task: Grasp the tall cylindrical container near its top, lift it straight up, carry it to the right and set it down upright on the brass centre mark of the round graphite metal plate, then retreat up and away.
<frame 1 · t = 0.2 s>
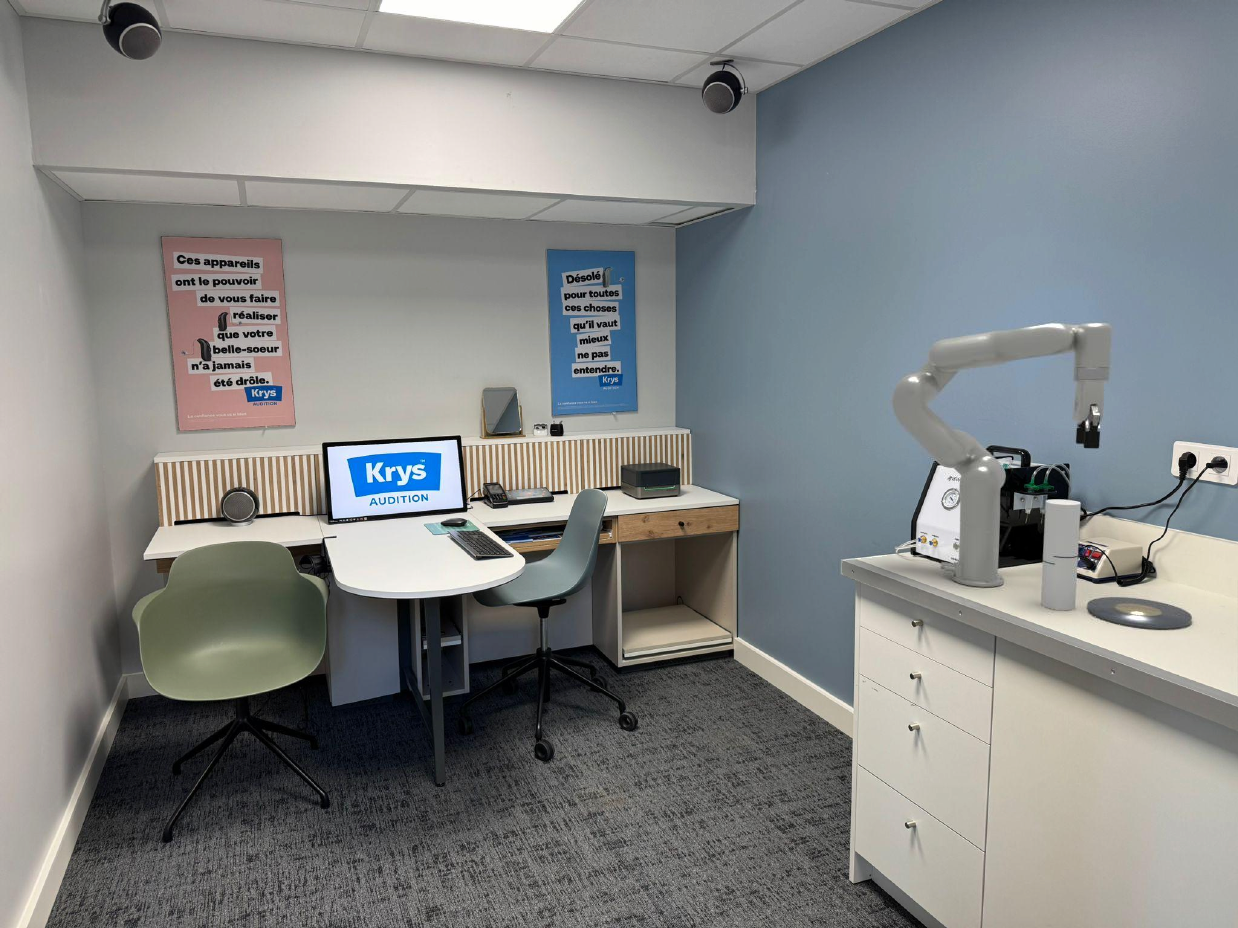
hand: (1087, 446, 198), 37 cm above the worktop, tool pointing down, fingers open, 9 cm apart
cylindrical container: (1057, 606, 193), on the worktop
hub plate: (1137, 614, 185), on the worktop
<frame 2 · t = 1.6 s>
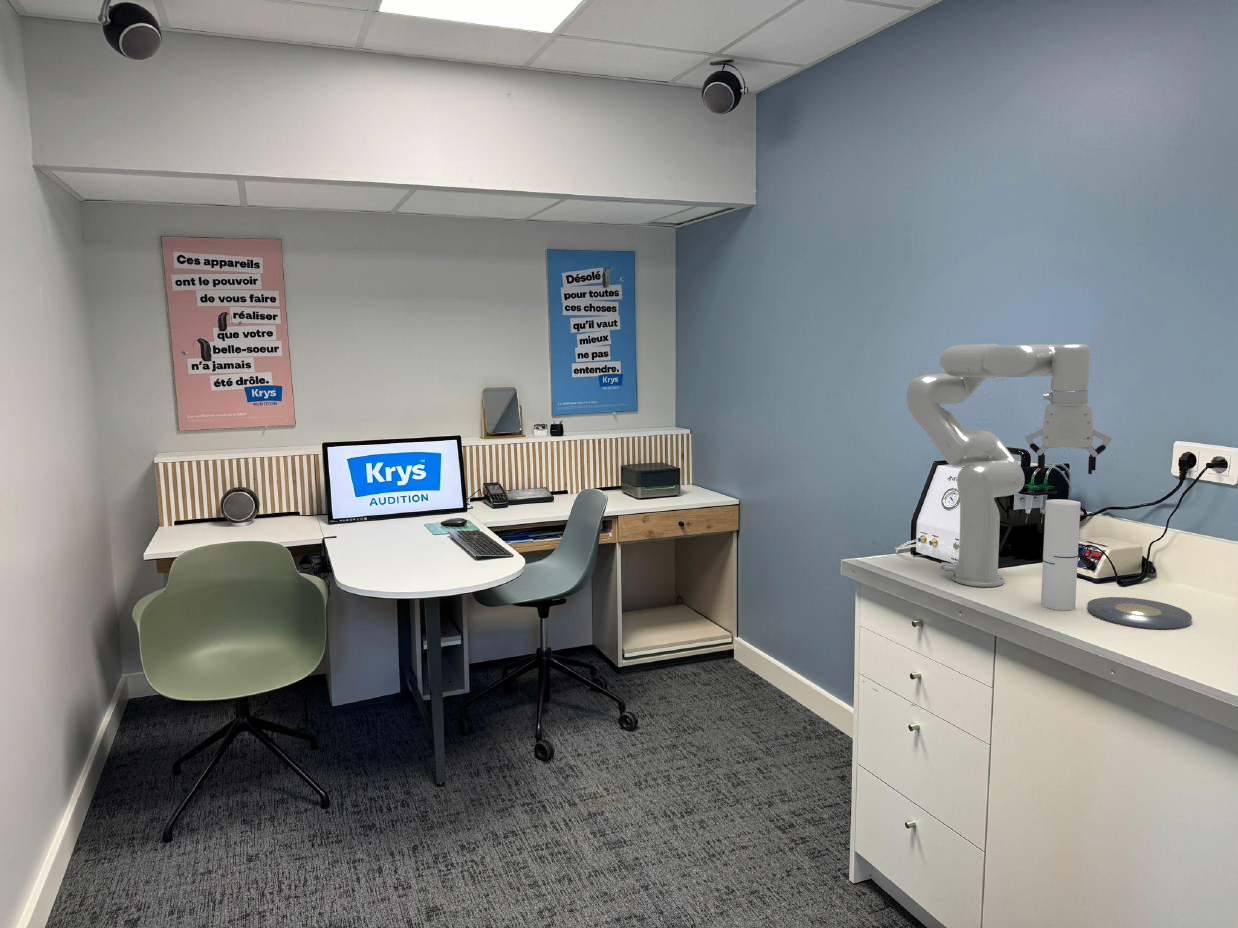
hand: (1065, 472, 188), 32 cm above the worktop, tool pointing down, fingers open, 9 cm apart
nothing on the worktop moved.
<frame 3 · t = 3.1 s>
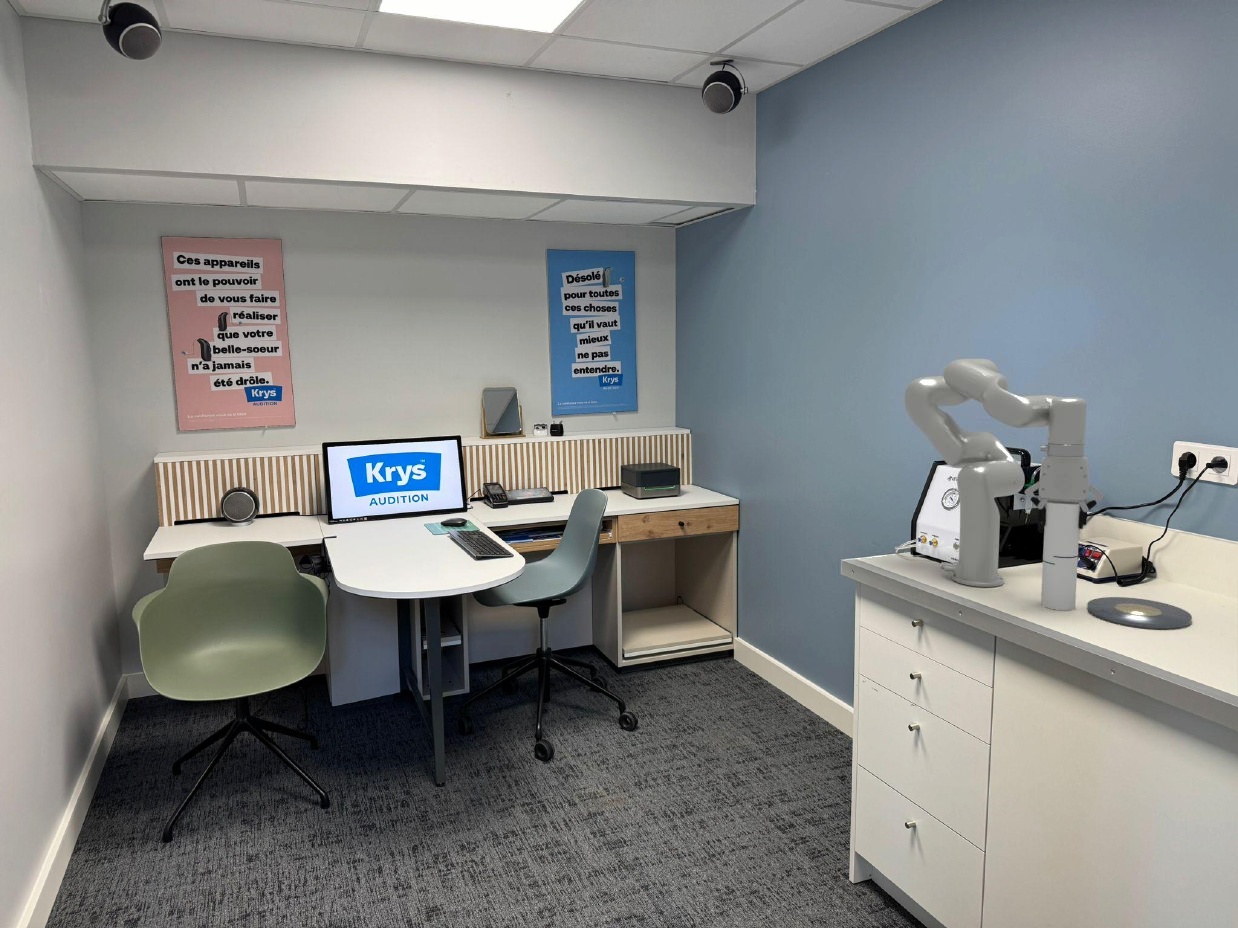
hand: (1061, 525, 190), 19 cm above the worktop, tool pointing down, fingers closed on cylindrical container, 7 cm apart
cylindrical container: (1057, 606, 193), on the worktop, touching gripper
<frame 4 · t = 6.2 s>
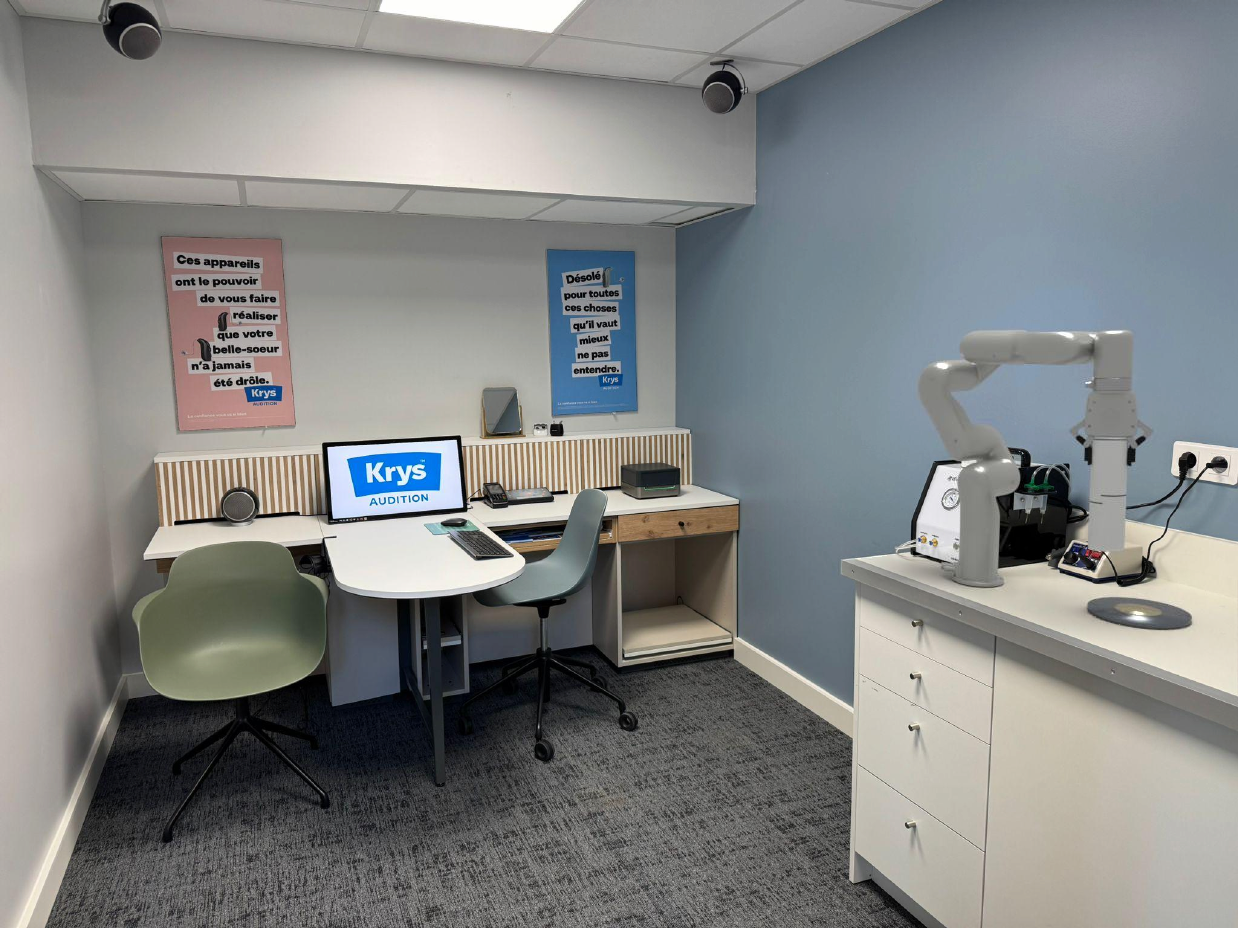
hand: (1109, 464, 184), 34 cm above the worktop, tool pointing down, fingers closed on cylindrical container, 7 cm apart
cylindrical container: (1105, 549, 186), point 15 cm above the worktop, touching gripper
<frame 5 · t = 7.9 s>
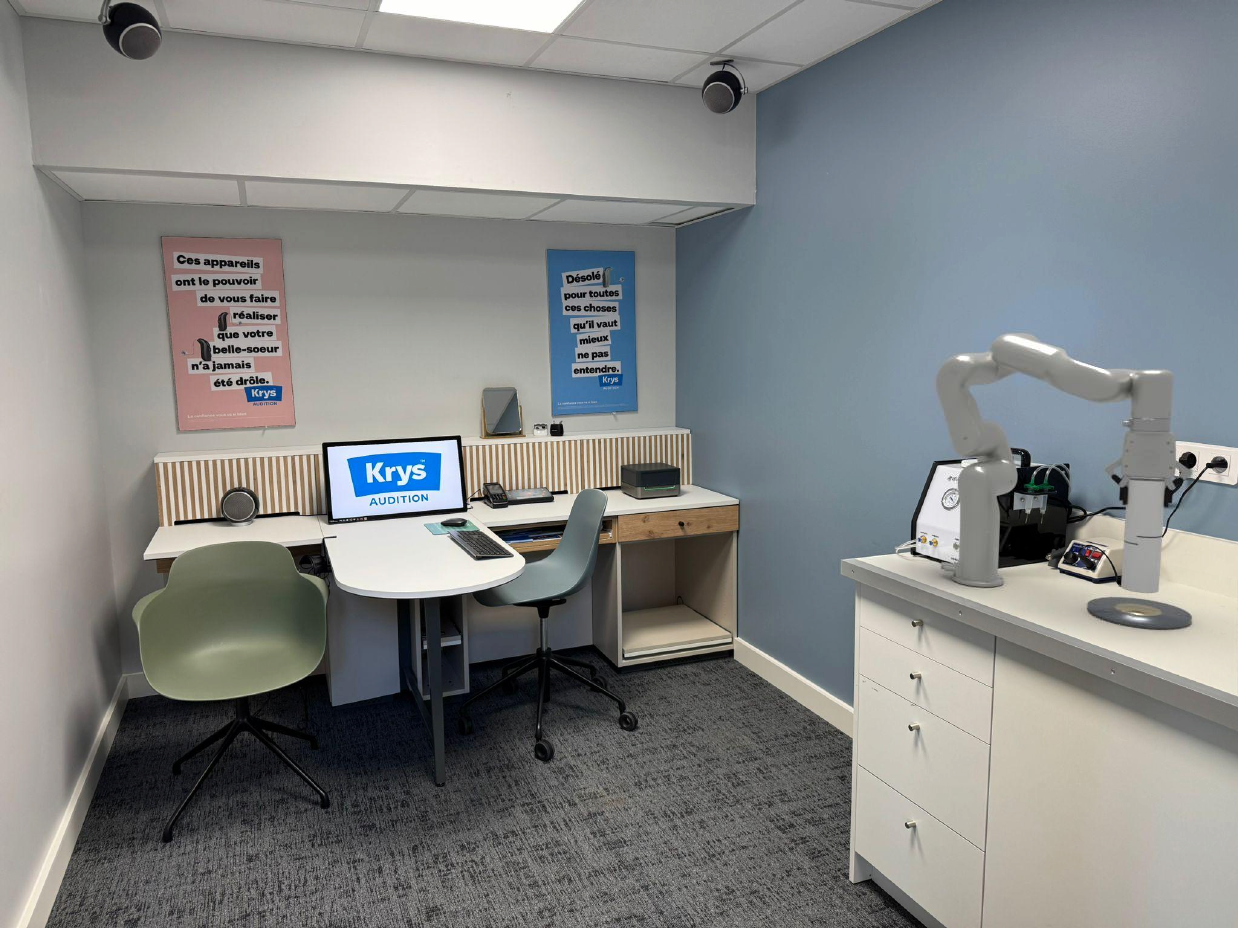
hand: (1144, 504, 182), 25 cm above the worktop, tool pointing down, fingers closed on cylindrical container, 7 cm apart
cylindrical container: (1139, 589, 184), point 6 cm above the worktop, touching gripper
when the fingers open (22 cm above the worktop, at t = 9.2 s): cylindrical container stays where it is, resting on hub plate.
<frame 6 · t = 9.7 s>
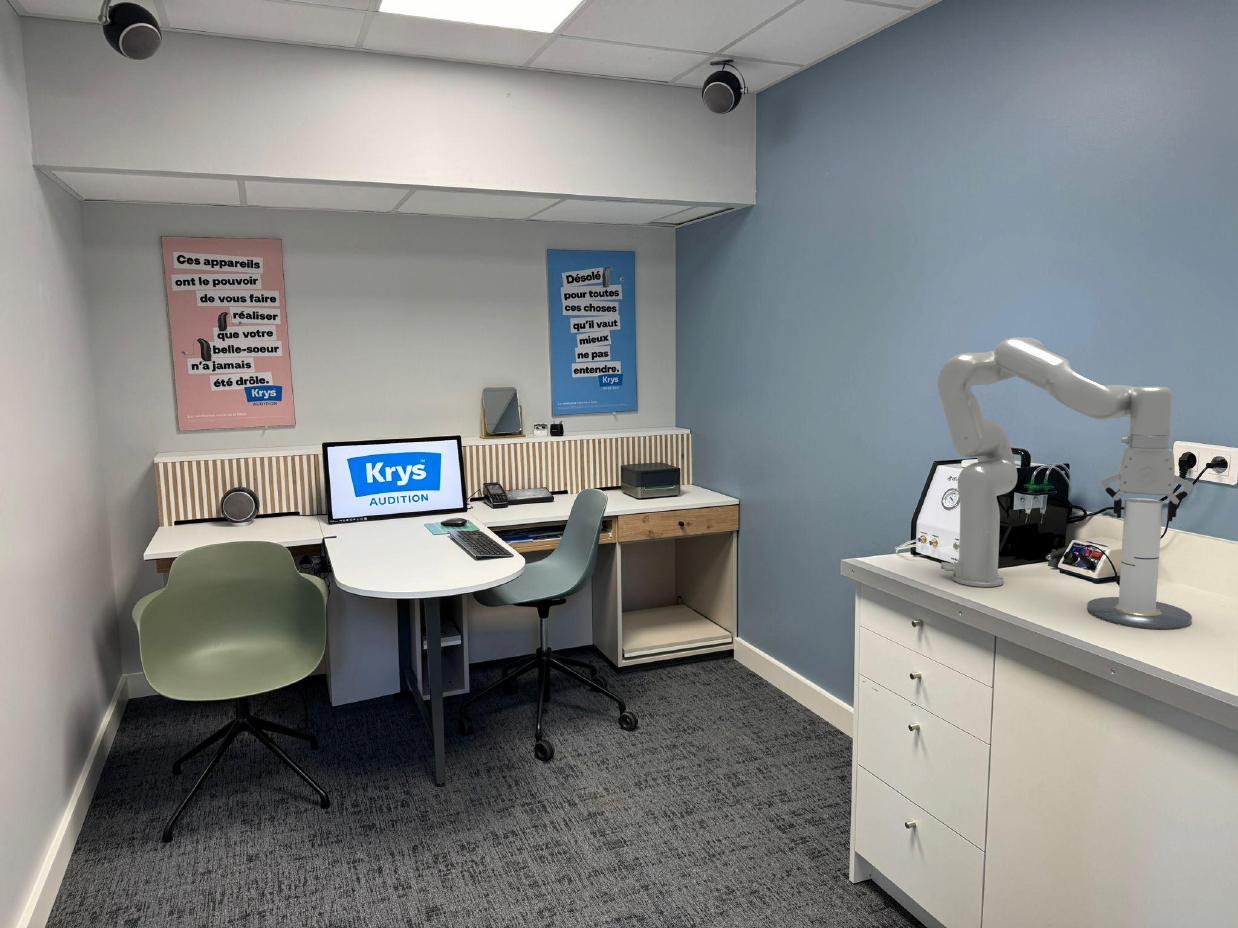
hand: (1143, 518, 182), 22 cm above the worktop, tool pointing down, fingers open, 9 cm apart
cylindrical container: (1136, 610, 185), point 1 cm above the worktop, touching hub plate
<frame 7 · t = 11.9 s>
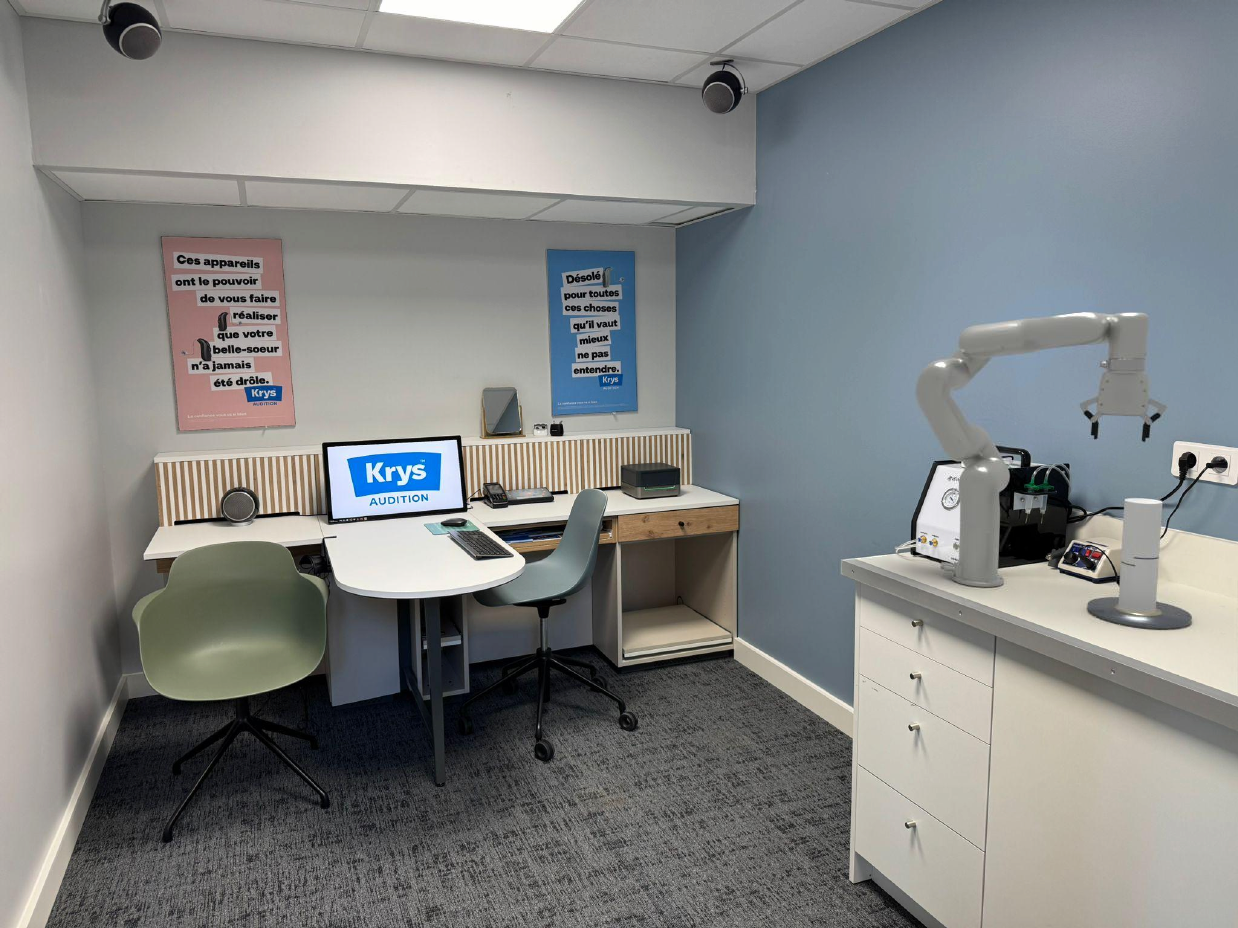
hand: (1119, 440, 191), 39 cm above the worktop, tool pointing down, fingers open, 9 cm apart
nothing on the worktop moved.
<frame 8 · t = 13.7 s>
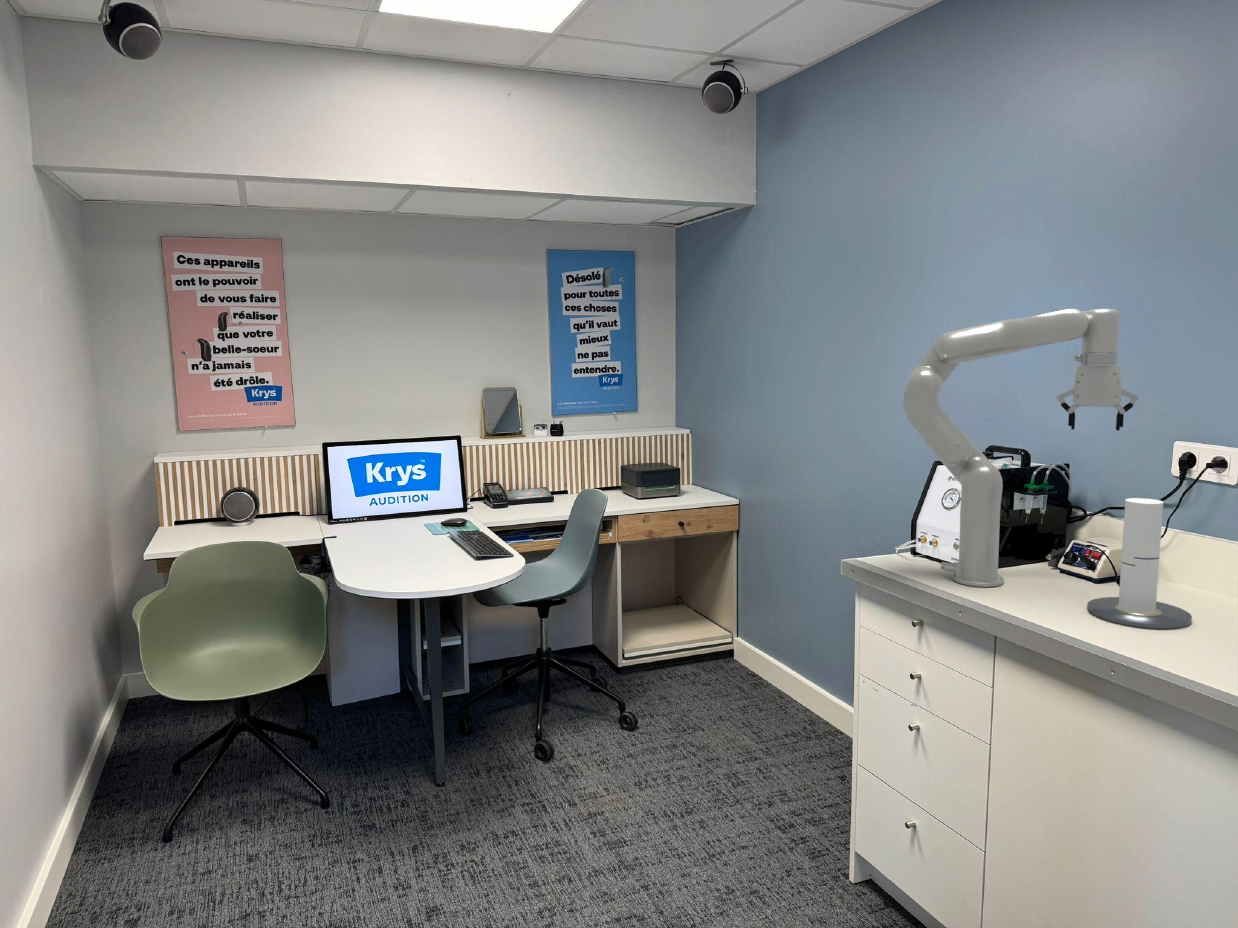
hand: (1095, 429, 202), 40 cm above the worktop, tool pointing down, fingers open, 9 cm apart
nothing on the worktop moved.
at the end: cylindrical container 0.3 cm from the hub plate (horizontally); cylindrical container tilted 0°; cylindrical container touching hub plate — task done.
